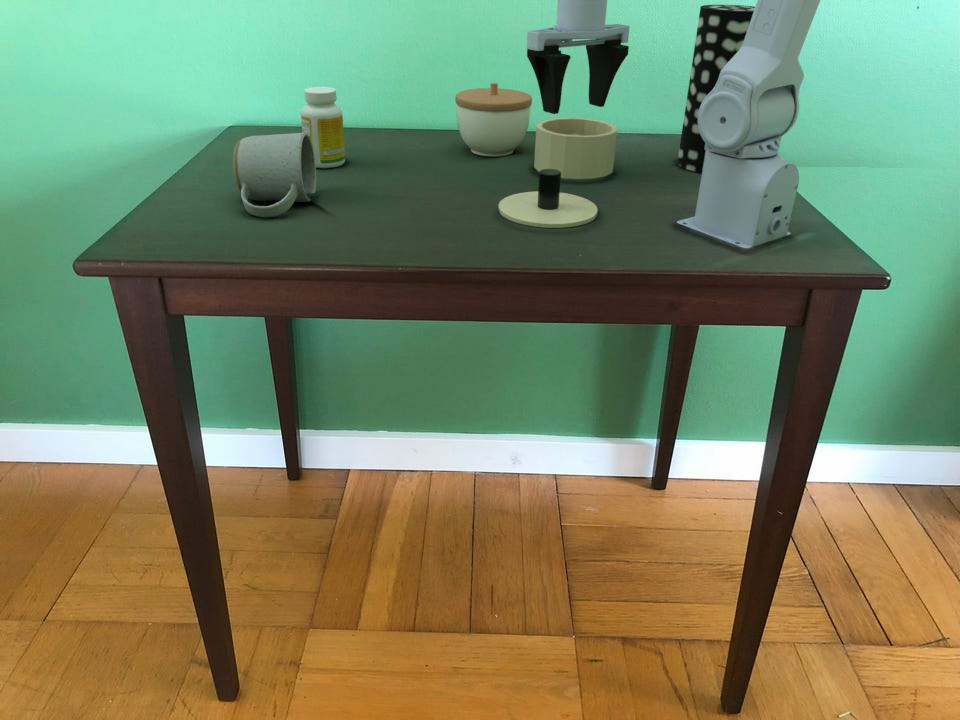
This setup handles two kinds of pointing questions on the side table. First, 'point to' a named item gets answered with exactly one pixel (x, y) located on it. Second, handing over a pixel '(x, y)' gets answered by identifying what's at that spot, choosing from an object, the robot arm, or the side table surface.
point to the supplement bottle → (324, 126)
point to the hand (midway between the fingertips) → (574, 108)
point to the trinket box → (493, 119)
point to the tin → (575, 147)
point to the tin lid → (548, 205)
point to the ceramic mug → (274, 171)
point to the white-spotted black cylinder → (709, 70)
